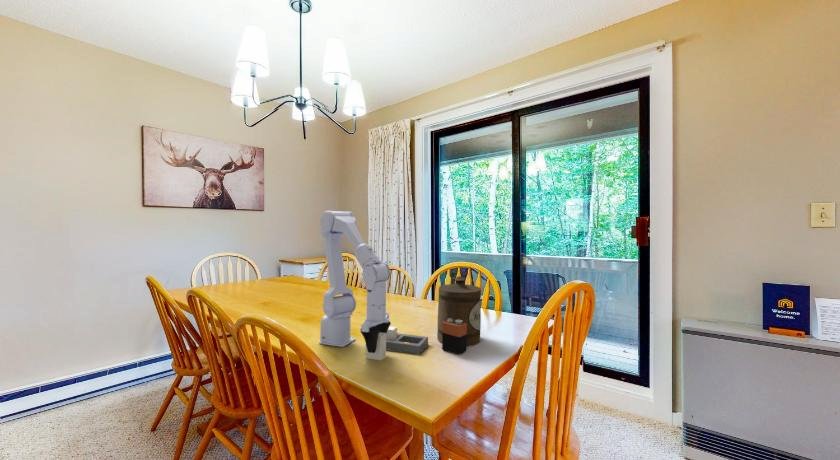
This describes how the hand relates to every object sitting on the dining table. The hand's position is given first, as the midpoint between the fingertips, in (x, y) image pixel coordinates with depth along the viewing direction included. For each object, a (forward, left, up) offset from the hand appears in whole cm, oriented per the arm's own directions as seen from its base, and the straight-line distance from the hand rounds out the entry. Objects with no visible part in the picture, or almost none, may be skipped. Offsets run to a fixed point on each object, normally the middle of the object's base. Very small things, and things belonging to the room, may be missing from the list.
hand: (375, 348), depth 101 cm
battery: (+21, +13, -3) cm, 25 cm away
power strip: (+3, +11, -2) cm, 12 cm away
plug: (0, 0, -2) cm, 2 cm away
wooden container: (+20, +24, -3) cm, 31 cm away
